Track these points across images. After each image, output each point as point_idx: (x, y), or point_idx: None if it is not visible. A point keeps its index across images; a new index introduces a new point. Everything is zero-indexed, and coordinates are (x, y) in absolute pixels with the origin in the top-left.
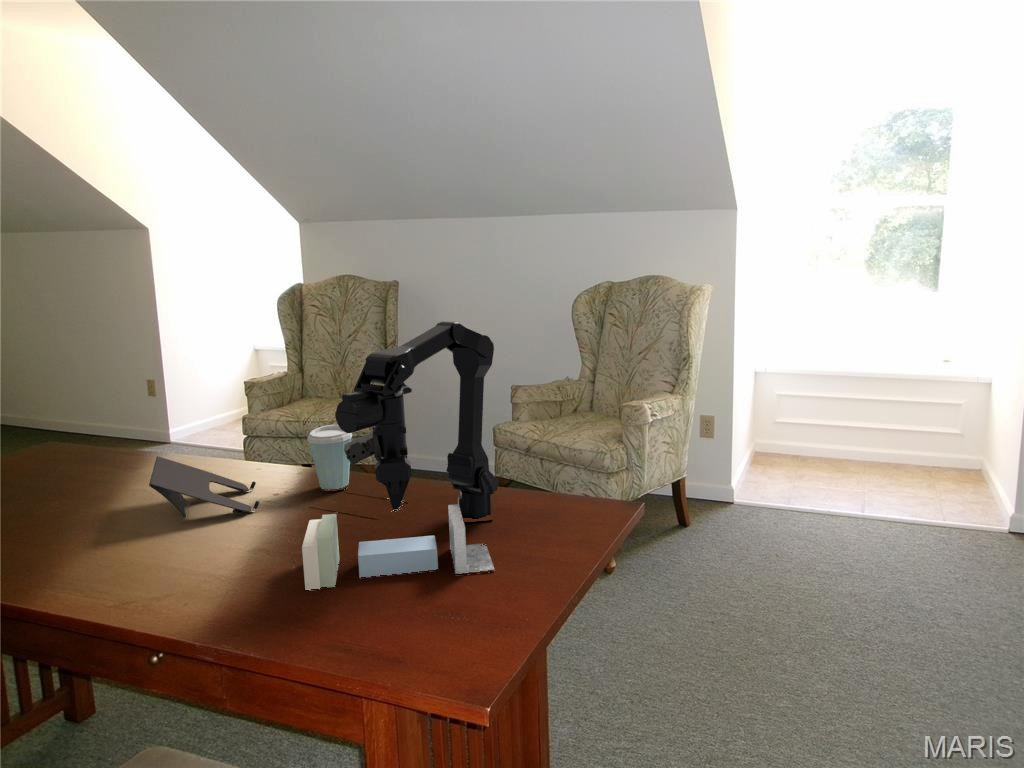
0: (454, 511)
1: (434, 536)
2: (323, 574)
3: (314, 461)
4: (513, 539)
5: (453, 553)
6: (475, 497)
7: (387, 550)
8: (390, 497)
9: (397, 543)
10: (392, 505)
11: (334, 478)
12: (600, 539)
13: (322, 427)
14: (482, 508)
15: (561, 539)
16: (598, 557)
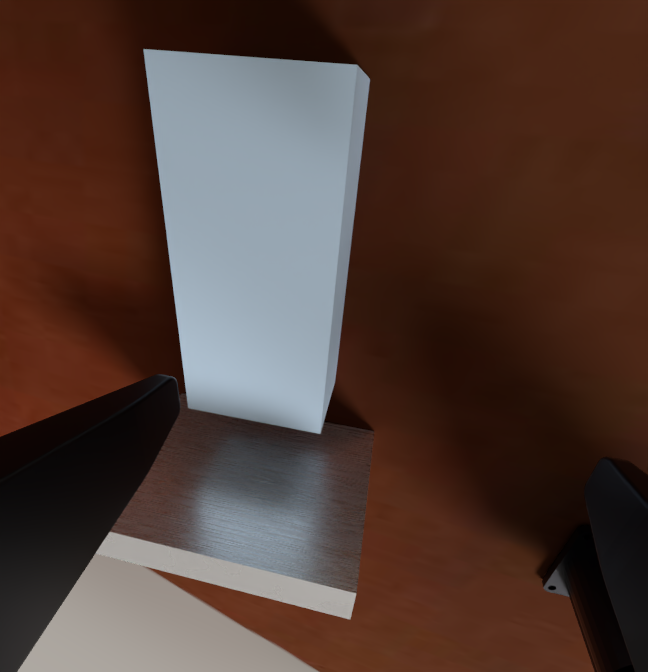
0: (260, 581)
1: (308, 431)
2: None
3: None
4: (377, 564)
5: (210, 435)
6: (605, 655)
7: (196, 227)
8: (22, 439)
9: (272, 285)
10: (118, 394)
11: None
12: (311, 653)
13: None
14: (578, 613)
15: (336, 619)
16: (229, 617)
